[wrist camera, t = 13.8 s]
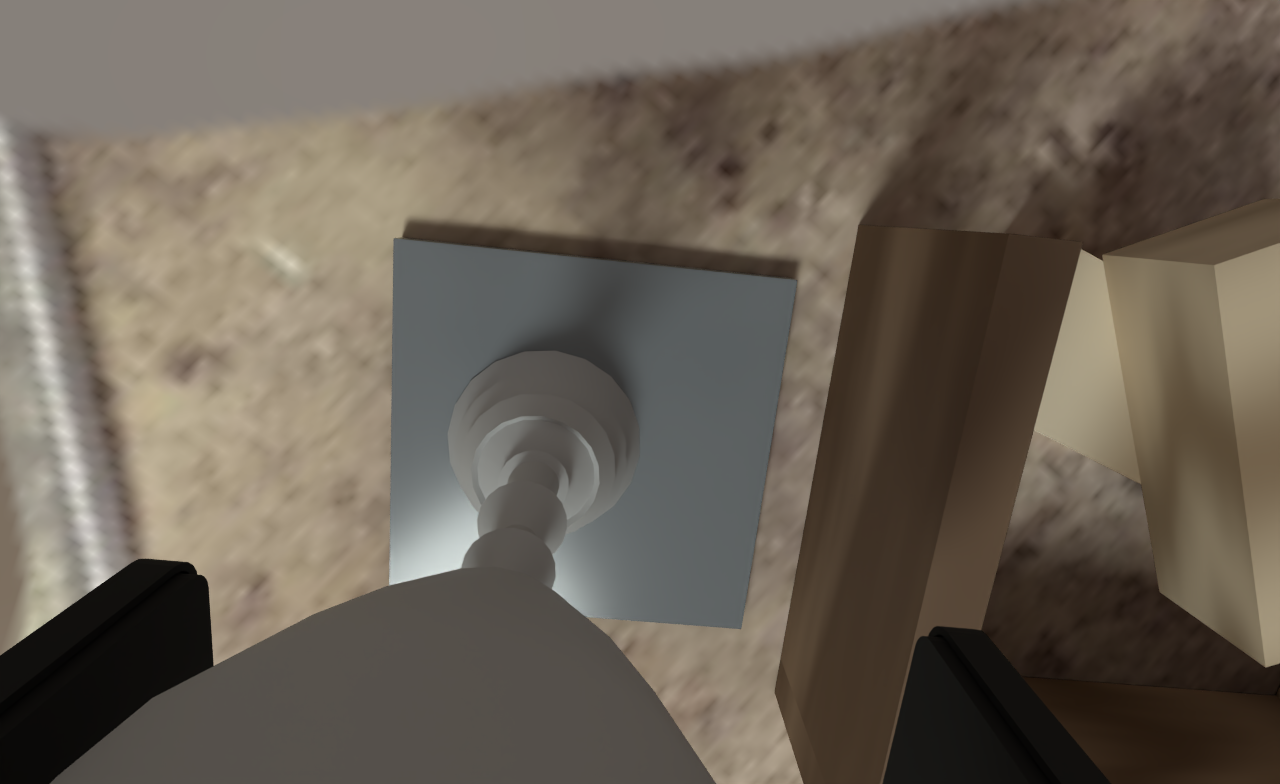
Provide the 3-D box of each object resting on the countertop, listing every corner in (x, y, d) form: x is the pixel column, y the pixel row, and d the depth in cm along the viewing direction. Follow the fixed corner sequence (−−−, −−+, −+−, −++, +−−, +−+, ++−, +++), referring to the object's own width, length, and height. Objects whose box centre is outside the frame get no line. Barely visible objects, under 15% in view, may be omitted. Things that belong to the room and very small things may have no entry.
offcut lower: (1312, 408, 20) (1432, 443, 17) (1224, 524, 20) (1324, 576, 18) (992, 235, 18) (1064, 239, 15) (913, 368, 19) (966, 396, 16)
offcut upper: (1301, 547, 17) (1437, 615, 14) (1159, 591, 18) (1265, 667, 15) (1263, 199, 15) (1416, 196, 12) (1101, 254, 15) (1214, 265, 12)
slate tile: (791, 278, 18) (797, 280, 17) (737, 617, 20) (741, 629, 20) (401, 237, 17) (393, 238, 17) (396, 590, 20) (389, 601, 19)
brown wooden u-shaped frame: (1479, 292, 18) (1983, 340, 12) (1298, 730, 22) (1602, 963, 15) (858, 224, 17) (1008, 234, 11) (774, 692, 21) (847, 921, 14)
